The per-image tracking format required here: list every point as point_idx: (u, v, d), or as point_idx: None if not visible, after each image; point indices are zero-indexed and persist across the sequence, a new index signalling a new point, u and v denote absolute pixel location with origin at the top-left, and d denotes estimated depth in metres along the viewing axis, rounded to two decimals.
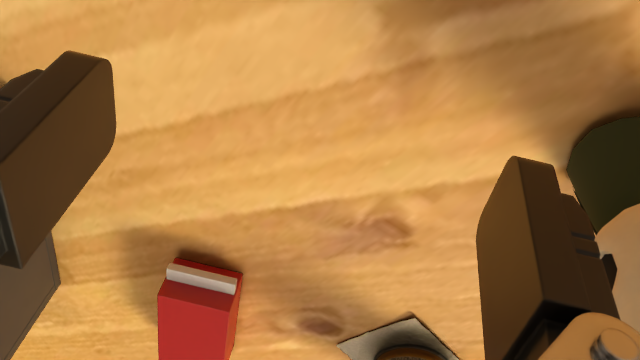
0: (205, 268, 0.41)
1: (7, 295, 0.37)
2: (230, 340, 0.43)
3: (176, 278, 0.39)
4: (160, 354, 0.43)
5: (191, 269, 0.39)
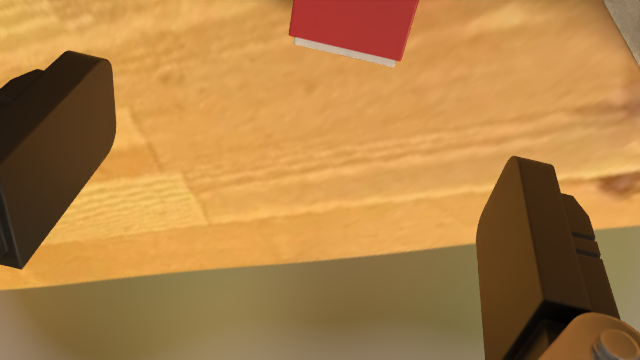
0: None
1: None
2: None
3: None
4: None
5: None
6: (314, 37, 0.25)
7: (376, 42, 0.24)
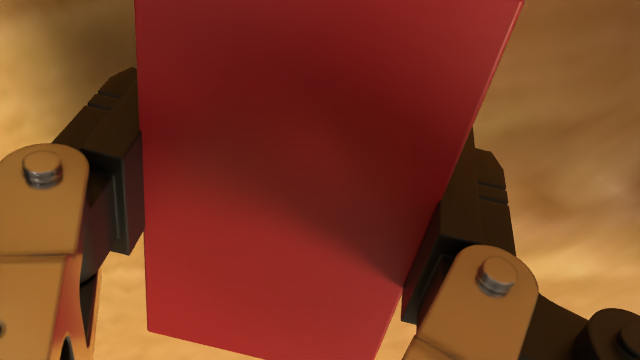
0: None
1: None
2: None
3: None
4: (152, 279, 0.12)
5: None
6: (195, 338, 0.13)
7: (316, 356, 0.12)
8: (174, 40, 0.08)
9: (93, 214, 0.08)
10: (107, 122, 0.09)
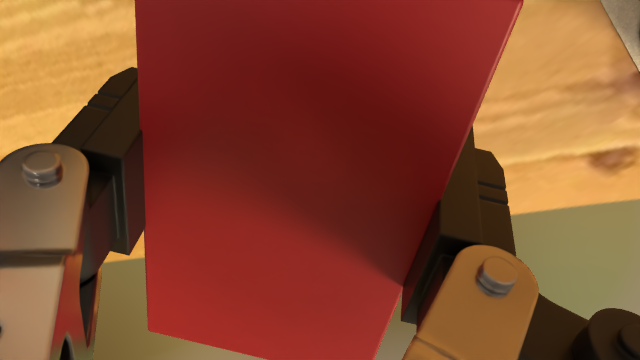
0: None
1: None
2: None
3: None
4: (153, 279, 0.12)
5: None
6: (196, 338, 0.13)
7: (316, 355, 0.12)
8: (175, 41, 0.08)
9: (92, 214, 0.08)
10: (107, 122, 0.09)
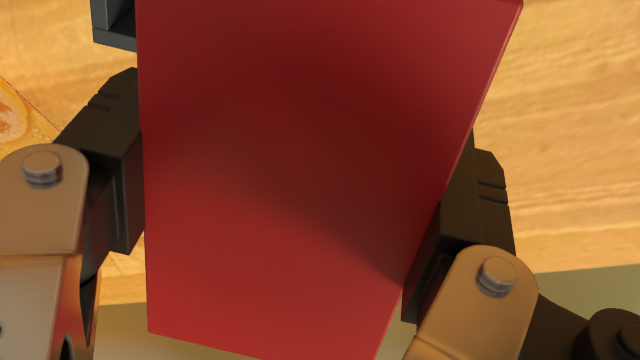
0: None
1: None
2: None
3: None
4: (153, 281, 0.12)
5: None
6: (196, 339, 0.13)
7: (316, 357, 0.12)
8: (175, 43, 0.08)
9: (93, 214, 0.08)
10: (107, 122, 0.09)
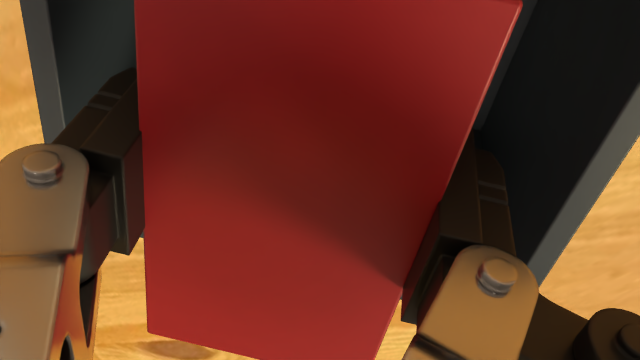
0: None
1: None
2: None
3: None
4: (152, 281, 0.12)
5: None
6: (195, 339, 0.13)
7: (316, 357, 0.12)
8: (174, 43, 0.08)
9: (93, 214, 0.08)
10: (107, 122, 0.09)
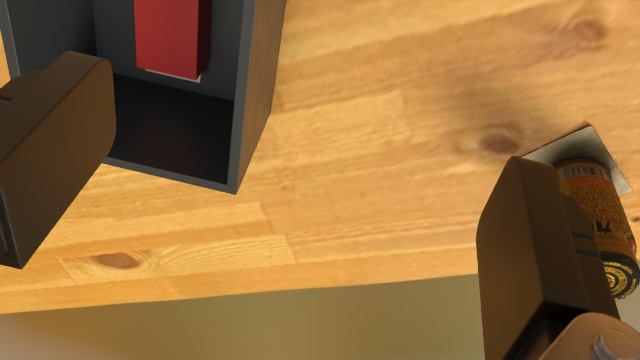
0: None
1: (262, 92, 0.45)
2: (204, 35, 0.46)
3: None
4: (137, 46, 0.45)
5: None
6: (150, 67, 0.46)
7: (182, 70, 0.46)
8: None
9: None
10: None
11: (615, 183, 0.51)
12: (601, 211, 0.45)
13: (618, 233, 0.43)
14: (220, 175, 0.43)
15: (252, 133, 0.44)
